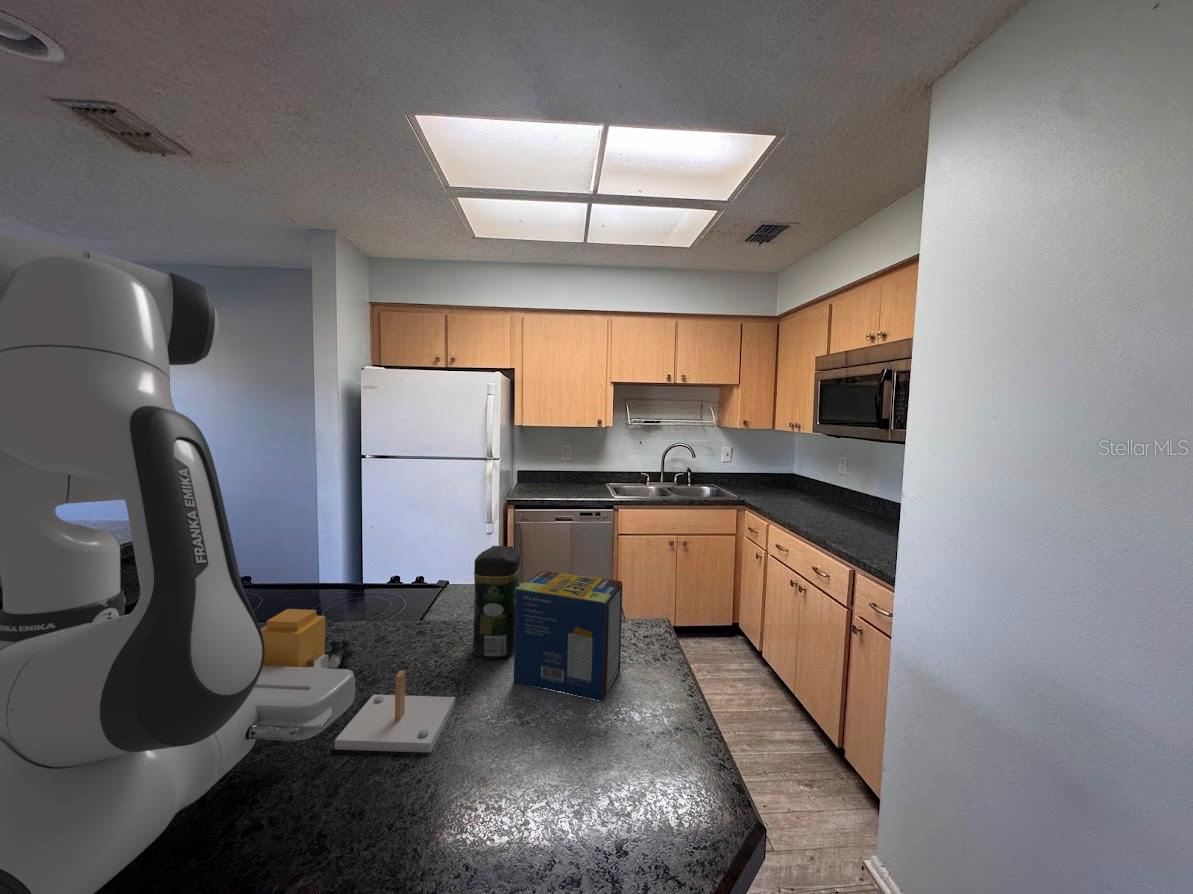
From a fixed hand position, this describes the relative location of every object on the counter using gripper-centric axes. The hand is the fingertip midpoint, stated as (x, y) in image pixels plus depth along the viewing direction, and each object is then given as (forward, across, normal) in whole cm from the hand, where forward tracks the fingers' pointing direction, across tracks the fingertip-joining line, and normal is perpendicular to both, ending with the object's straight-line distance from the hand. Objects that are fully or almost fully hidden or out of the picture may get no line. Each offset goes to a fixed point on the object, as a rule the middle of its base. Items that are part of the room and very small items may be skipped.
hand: (296, 658), depth 57 cm
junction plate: (+6, -10, +12) cm, 17 cm away
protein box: (+20, -32, +12) cm, 40 cm away
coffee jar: (+29, -18, +12) cm, 36 cm away
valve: (+18, +9, +12) cm, 23 cm away
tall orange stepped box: (-1, 0, +6) cm, 6 cm away
